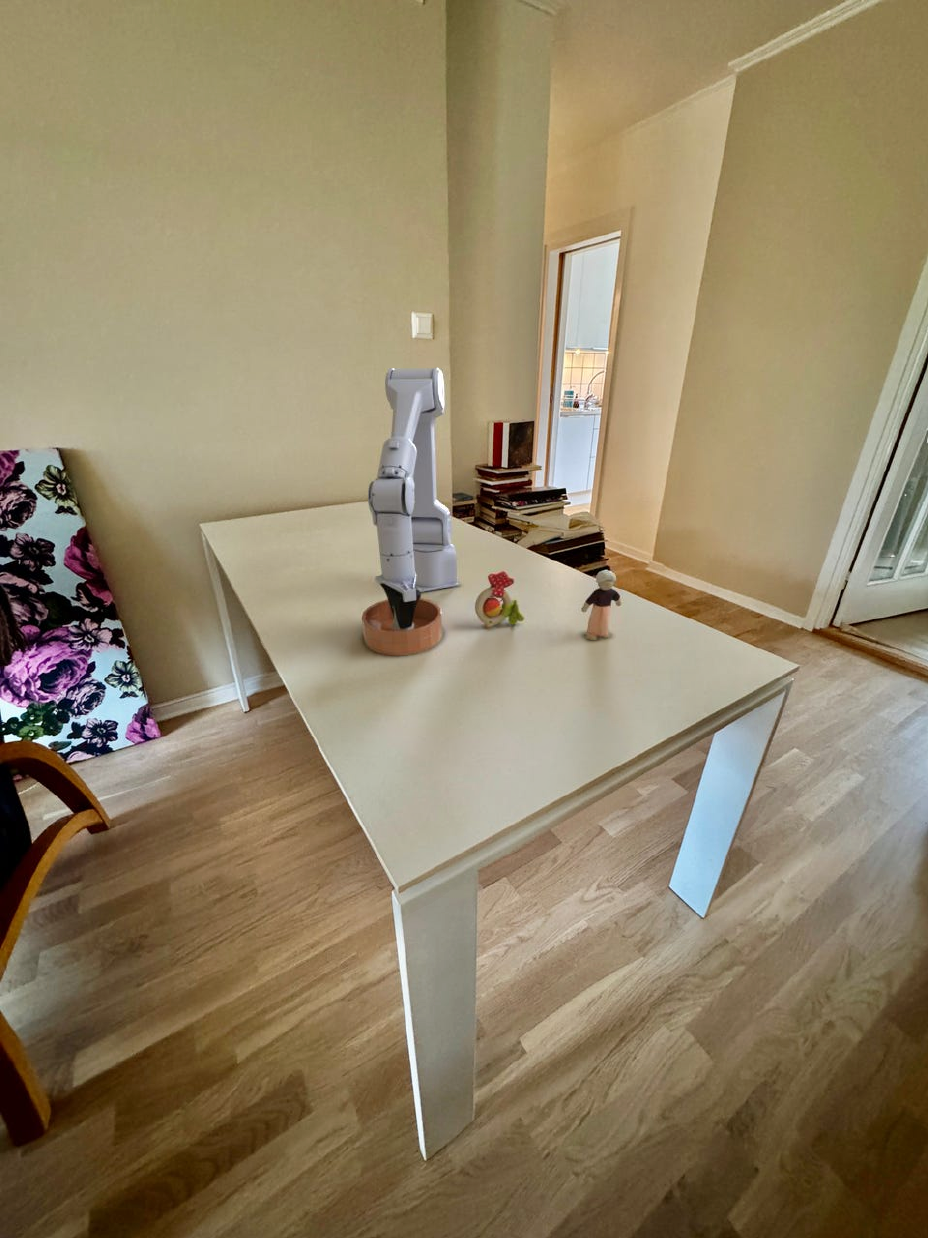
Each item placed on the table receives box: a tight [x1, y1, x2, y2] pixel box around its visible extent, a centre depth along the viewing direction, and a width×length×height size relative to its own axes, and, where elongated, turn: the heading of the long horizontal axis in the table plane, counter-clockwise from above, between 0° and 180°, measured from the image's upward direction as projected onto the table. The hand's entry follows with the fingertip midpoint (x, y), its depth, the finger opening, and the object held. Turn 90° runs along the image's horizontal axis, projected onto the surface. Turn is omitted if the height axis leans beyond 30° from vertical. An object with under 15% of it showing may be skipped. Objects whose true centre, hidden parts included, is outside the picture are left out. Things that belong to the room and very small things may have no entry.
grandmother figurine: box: [580, 569, 622, 641], centre depth 85 cm, size 8×4×13 cm, turn 117°
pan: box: [361, 597, 443, 656], centre depth 88 cm, size 14×14×4 cm
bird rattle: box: [474, 570, 525, 629], centre depth 89 cm, size 6×11×9 cm
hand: (402, 621), depth 87 cm, fingers open, 4 cm apart
